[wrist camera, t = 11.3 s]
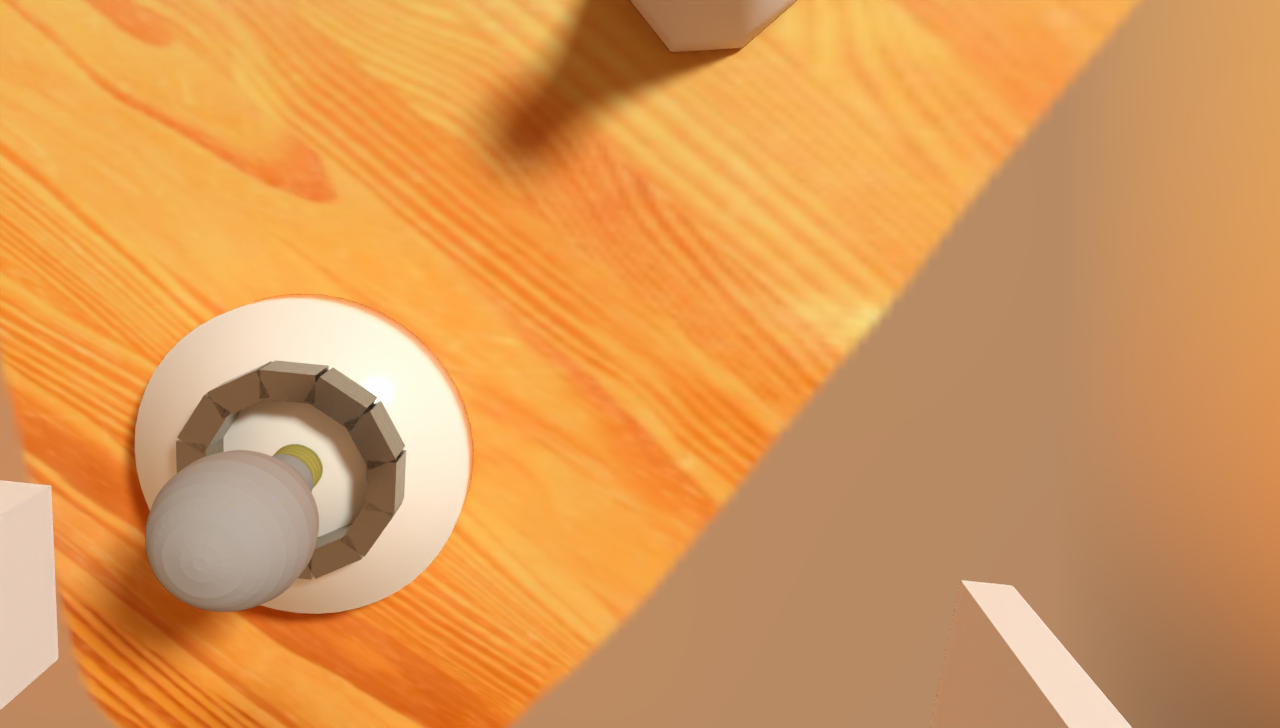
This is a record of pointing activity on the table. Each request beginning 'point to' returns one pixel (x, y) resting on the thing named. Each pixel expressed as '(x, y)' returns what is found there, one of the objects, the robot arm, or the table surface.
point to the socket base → (325, 429)
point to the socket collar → (340, 404)
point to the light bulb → (235, 527)
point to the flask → (709, 21)
